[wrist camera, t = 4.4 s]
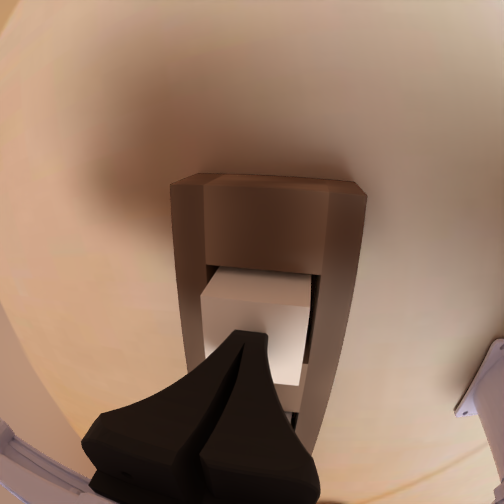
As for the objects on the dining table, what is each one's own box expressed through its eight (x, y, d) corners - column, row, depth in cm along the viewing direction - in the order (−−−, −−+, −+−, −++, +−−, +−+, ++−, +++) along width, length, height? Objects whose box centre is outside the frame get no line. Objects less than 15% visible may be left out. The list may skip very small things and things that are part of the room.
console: (354, 182, 14) (367, 195, 11) (294, 483, 26) (291, 509, 22) (198, 173, 16) (169, 184, 13) (220, 472, 27) (212, 498, 24)
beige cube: (311, 268, 14) (310, 307, 11) (302, 339, 16) (298, 385, 13) (223, 260, 15) (200, 295, 12) (225, 330, 17) (206, 373, 13)
